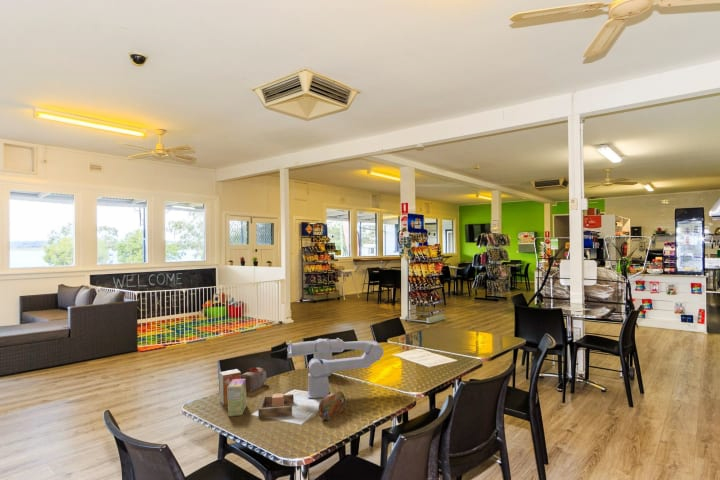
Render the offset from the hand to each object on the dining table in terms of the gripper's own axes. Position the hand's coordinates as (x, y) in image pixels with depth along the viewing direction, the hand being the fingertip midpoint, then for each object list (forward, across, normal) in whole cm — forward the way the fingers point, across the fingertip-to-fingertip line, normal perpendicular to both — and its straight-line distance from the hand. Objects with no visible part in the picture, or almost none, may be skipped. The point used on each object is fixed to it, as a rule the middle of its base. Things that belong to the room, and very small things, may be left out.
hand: (270, 352), depth 185 cm
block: (-2, +15, +20) cm, 25 cm away
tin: (-23, +26, +20) cm, 40 cm away
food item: (+11, -16, +22) cm, 29 cm away
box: (+15, +12, +19) cm, 27 cm away
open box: (-2, +15, +20) cm, 25 cm away
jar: (-24, -27, +24) cm, 44 cm away
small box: (+19, -1, +20) cm, 28 cm away
